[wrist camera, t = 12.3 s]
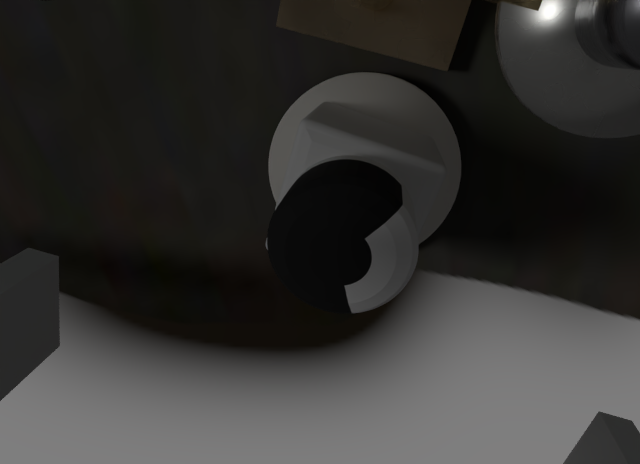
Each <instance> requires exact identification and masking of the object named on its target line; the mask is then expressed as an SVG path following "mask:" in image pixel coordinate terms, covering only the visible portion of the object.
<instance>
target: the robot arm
mask: <svg viewBox="0 0 640 464" xmlns="http://www.w3.org/2000/svg"><path fill="white" fill-rule="evenodd" d="M59 337H60V336H59V256H55V255H52V254H48V253H45V252H41V251H38V250H35V249H31V248H27V249H25V250H24V251H22V252H20V253H18V254H17V255H15V256H13V257H11V258H10V259H8V260H6V261H4V262H3V263H1V264H0V401H1V400H2V399H3V398H4V397H5V396H6V395H7V394H8V393H9V392H10V391H11V390H13V389H14V388H15V387H16V386H17V385H18V384H19V383H20V382H21V381H22V380H23V379H24V378H25V377H27V376H28V375H29V374H30V373H31V372H32V371H33V370H34V369H35V368H36V367H37V366H38V365H39V364H41V363H42V362H43V361H44V360H45V359H46V358H47V357H48V356H49V355H50V354H51V353H52V352H54V351H55V349H57V348H58V347H59V345H60V341H59V340H60V338H59ZM563 464H640V433H639V431H638V430H637V428H636V427H635V425H634V423H633V422H632V421H630V420H627V419H623V418H620V417H616V416H613V415H609V414H606V413H603V412H598V414H597V415H596V416H595V418H594V420H593V421H592V422H591V424H590V425H589V427H588V428H587V430H586V431H585V433H584V434H583V436H582V437H581V438H580V440H579V442H578V443H577V445H576V446H575V447H574V449H573V450H572V452H571V453H570V454H569V456H568V458H567V459H566V460H565V462H564V463H563Z"/></svg>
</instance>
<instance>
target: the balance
mask: <svg viewBox="0 0 640 464" xmlns="http://www.w3.org/2000/svg"><path fill="white" fill-rule="evenodd" d="M42 1H50V0H42ZM484 1H488V2H491V3H495V4H497V9H496V15H495V45H496V52H497V56H498V61H499V65H500V68H501V70H502V73H503V76H504V78H505V80H506V82H507V84H508V86H509V87H510V89H511V91H512V92H513V93H514V95H515V96H516V97H517V99H518V100H519V101H520V102H521V103H522V104H523V105H524V106H525V107H526V108H527V109H528V110H529V111H530V112H531V113H533V114H534V115H536V116H537V117H538V118H540V119H541V120H543V121H545V122H547V123H549V124H551V125H553V126H555V127H557V128H559V129H561V130H564V131H567V132H570V133H573V134H576V135H581V136H586V137H595V138H619V137H627V136H633V135H639V134H640V0H484ZM470 3H471V0H281V2H280V8H279V13H278V19H277V25H276V26H277V27H281V28H285V29H289V30H293V31H296V32H300V33H304V34H308V35H311V36H315V37H319V38H323V39H327V40H330V41H334V42H338V43H342V44H346V45H349V46H353V47H357V48H361V49H365V50H368V51H372V52H376V53H380V54H383V55H387V56H391V57H395V58H399V59H402V60H406V61H410V62H414V63H418V64H421V65H425V66H429V67H433V68H437V69H440V70H444V71H448V68H449V65H450V62H451V59H452V56H453V53H454V50H455V47H456V44H457V41H458V38H459V35H460V33H461V30H462V27H463V24H464V21H465V18H466V15H467V12H468V9H469V6H470Z"/></svg>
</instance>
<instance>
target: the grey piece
mask: <svg viewBox="0 0 640 464" xmlns="http://www.w3.org/2000/svg"><path fill="white" fill-rule="evenodd" d="M446 174H447V168H446V166H445V163H444V161H443V159H442V157H441V154H440V152H439V150H438V147H437V145H436V143H435V141H434V139H433V138H432V137H429V136H427V135H424V134H421V133H418V132H415V131H412V130H409V129H406V128H403V127H400V126H397V125H394V124H391V123H388V122H385V121H382V120H380V119H377V118H374V117H371V116H368V115H365V114H362V113H359V112H356V111H353V110H350V109H347V108H344V107H341V106H338V105H336V104H333V103H330V102H323V103H321V104H320V105H319V106H318V107H316V108H315V109H314V110H313V111H312V112H311V113H309V114H308V115H307V116H306V117H305V118H303V119H302V120H301V122H300V124H299V127H298V130H297V134H296V138H295V141H294V145H293V148H292V152H291V155H290V159H289V162H288V166H287V169H286V173H285V176H284V180H283V183H282V187H281V190H280V194H279V198H278V201H277V205H276V208H275V211H274V213H273V216H272V218H271V221H270V224H269V228H268V235H267V240H266V248H267V250H268V253H269V258H270V261H271V264H272V267H273V269H274V271H275V273H276V275H277V276H278V278H279V279H280V281H281V282H282V283H283V285H284V286H285V287H286V288H287V289H288V290H289V291H290V292H291V293H292V294H294V295H295V296H296V297H297V298H299V299H300V300H302V301H303V302H305V303H307V304H309V305H311V306H313V307H315V308H318V309H321V310H324V311H329V312H333V313H359V312H364V311H368V310H372V309H374V308H377V307H379V306H381V305H383V304H385V303H387V302H388V301H390V300H391V299H393V298H394V297H395V296H396V295H398V294H399V293H400V291H401V290H402V289H403V288H404V287H405V286H406V284H407V283H408V281H409V280H410V278H411V276H412V274H413V272H414V270H415V267H416V264H417V259H418V237H419V235H420V233H421V231H422V228H423V226H424V224H425V222H426V219H427V217H428V215H429V213H430V210H431V208H432V206H433V204H434V201H435V199H436V197H437V195H438V192H439V190H440V188H441V186H442V183H443V181H444V179H445V177H446Z"/></svg>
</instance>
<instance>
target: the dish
mask: <svg viewBox="0 0 640 464" xmlns="http://www.w3.org/2000/svg"><path fill="white" fill-rule="evenodd" d="M323 102H330V103H333V104H336V105H338V106H341V107H344V108H347V109H350V110H353V111H356V112H359V113H362V114H365V115H368V116H371V117H374V118H377V119H380V120H382V121H385V122H388V123H391V124H394V125H397V126H400V127H403V128H406V129H409V130H412V131H415V132H418V133H421V134H424V135H427V136H429V137H432V138H433V139H434V141H435V143H436V145H437V147H438V150H439V152H440V154H441V157H442V159H443V161H444V163H445V166H446V168H447V174H446V177H445V179H444V181H443V183H442V186H441V188H440V190H439V192H438V195H437V197H436V199H435V201H434V204H433V206H432V208H431V210H430V213H429V215H428V217H427V219H426V222H425V224H424V226H423V228H422V231H421V233H420V235H419V237H418V244H420V243H421V242H423V241H424V240H426V239H427V238H428V237H429V236H430V235H431V234H432V233H433V232H434V231H436V229H437V228H438V227H439V226H440V225H441V223H442V222H443V221H444V219H445V218H446V216H447V215H448V213H449V212H450V210H451V208H452V205H453V203H454V201H455V199H456V195H457V192H458V189H459V184H460V178H461V156H460V149H459V145H458V141H457V137H456V135H455V132H454V130H453V128H452V125H451V124H450V122H449V120H448V118H447V117H446V115H445V114H444V112H443V111H442V110H441V108H440V107H439V106H438V105H437V103H436V102H435V101H434V100H433V99H432V98H431V97H430V96H429V95H428V94H426V93H425V92H424V91H423V90H421V89H420V88H418V87H417V86H415V85H414V84H412V83H410V82H408V81H406V80H404V79H402V78H399V77H396V76H393V75H390V74H385V73H379V72H366V71H363V72H352V73H347V74H343V75H338V76H336V77H333V78H330V79H328V80H325V81H324V82H322V83H320V84H318V85H316V86H314V87H313V88H311V89H310V90H308V91H307V92H306V93H304V94H303V95H302V96H301V97H300V98H299V99H297V100H296V101H295V102H294V103H293V104H292V106H291V107H290V108H289V109H288V111H287V112H286V113H285V114H284V116H283V118H282V120H281V121H280V123H279V125H278V127H277V129H276V132H275V134H274V136H273V140H272V144H271V147H270V154H269V179H270V185H271V189H272V193H273V196H274V199H275V201H276V204H277V201H278V198H279V194H280V190H281V187H282V183H283V180H284V176H285V173H286V169H287V166H288V162H289V159H290V155H291V152H292V148H293V145H294V141H295V138H296V134H297V130H298V127H299V124H300V122H301V120H302V119H303V118H305V117H306V116H307V115H308V114H309V113H311V112H312V111H313V110H314V109H315V108H316V107H318V106H319V105H320V104H321V103H323Z"/></svg>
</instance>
